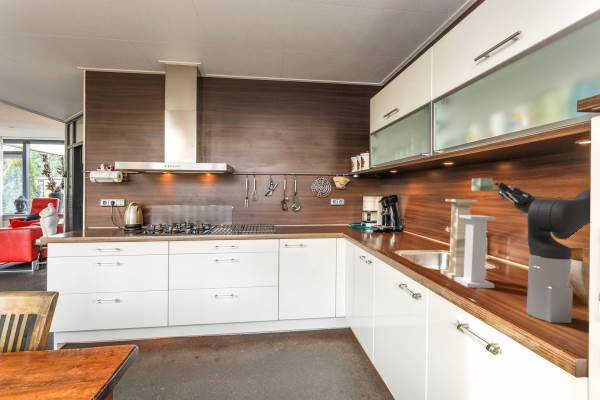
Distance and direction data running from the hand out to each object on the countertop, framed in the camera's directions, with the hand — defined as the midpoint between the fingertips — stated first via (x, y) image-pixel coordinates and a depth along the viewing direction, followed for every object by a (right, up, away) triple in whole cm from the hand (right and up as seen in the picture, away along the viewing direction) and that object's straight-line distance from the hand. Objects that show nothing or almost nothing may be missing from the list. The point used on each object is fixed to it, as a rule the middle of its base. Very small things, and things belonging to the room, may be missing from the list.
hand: (497, 184), depth 129 cm
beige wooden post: (-16, -38, 0) cm, 41 cm away
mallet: (-1, -3, 0) cm, 3 cm away
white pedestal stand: (-16, -38, -11) cm, 43 cm away
